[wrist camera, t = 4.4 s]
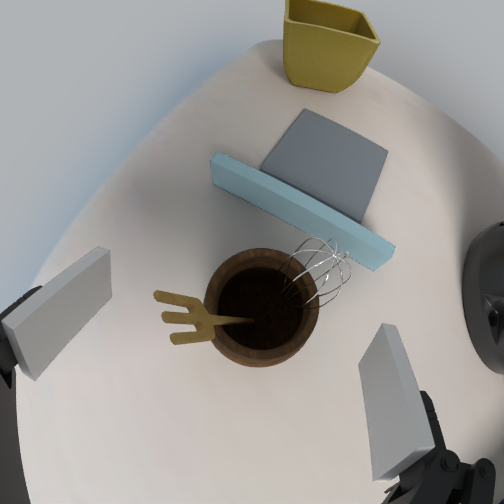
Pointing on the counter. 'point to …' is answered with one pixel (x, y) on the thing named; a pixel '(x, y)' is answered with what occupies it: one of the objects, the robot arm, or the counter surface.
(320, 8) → the flower pot
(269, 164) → the slate pad
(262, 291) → the utensil holder
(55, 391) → the counter surface
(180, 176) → the counter surface
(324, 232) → the acrylic wall
